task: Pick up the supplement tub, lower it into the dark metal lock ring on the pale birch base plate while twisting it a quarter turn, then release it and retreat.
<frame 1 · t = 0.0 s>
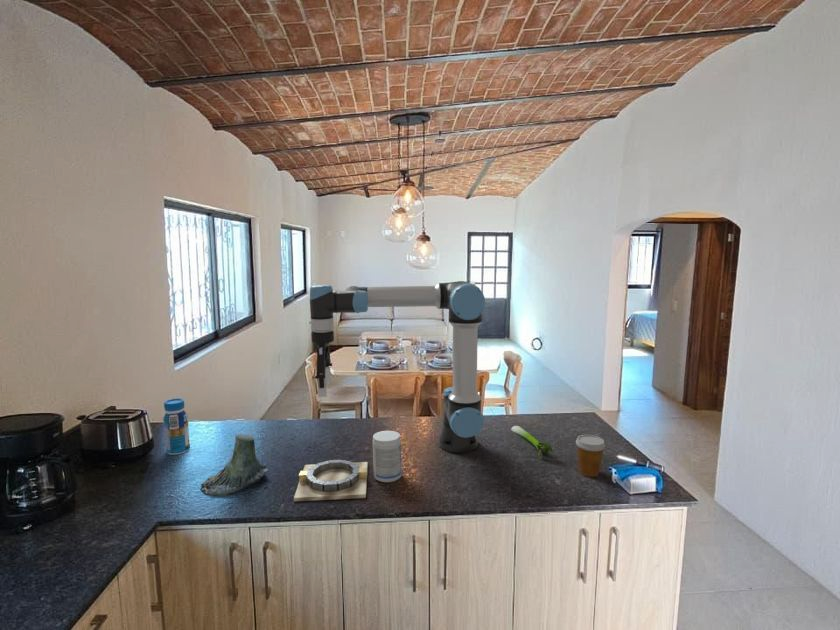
hand: (324, 390, 165), 28 cm above the worktop, fingers open, 13 cm apart
lock ring: (333, 475, 157), on the base plate, point 2 cm above the worktop
disposable coffee cup: (588, 473, 163), on the worktop
supplement tub: (387, 477, 161), on the worktop
base plate: (333, 481, 158), on the worktop
tree stump: (235, 481, 159), on the worktop
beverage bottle: (178, 451, 182), on the worktop
leek: (530, 445, 186), on the worktop
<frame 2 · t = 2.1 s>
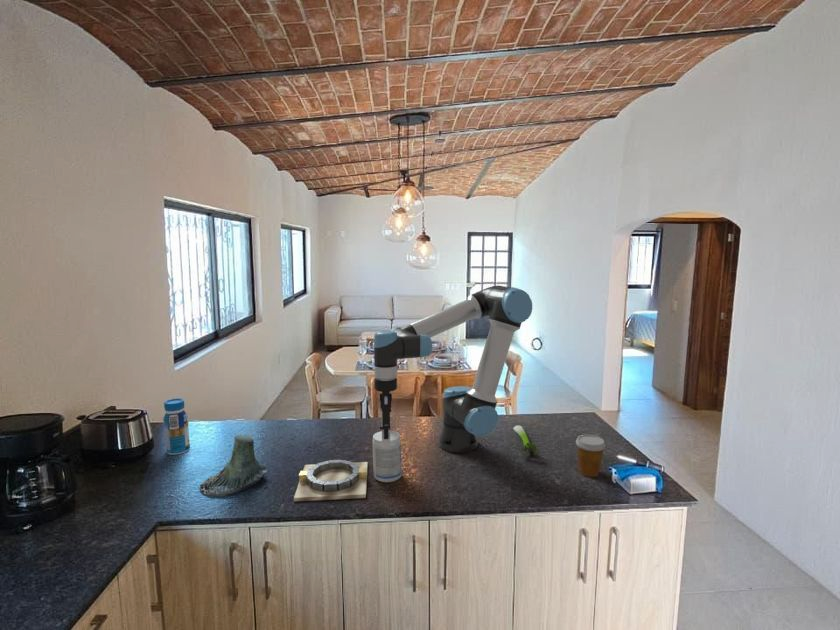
hand: (385, 439, 159), 13 cm above the worktop, fingers open, 13 cm apart
leek: (523, 445, 186), on the worktop
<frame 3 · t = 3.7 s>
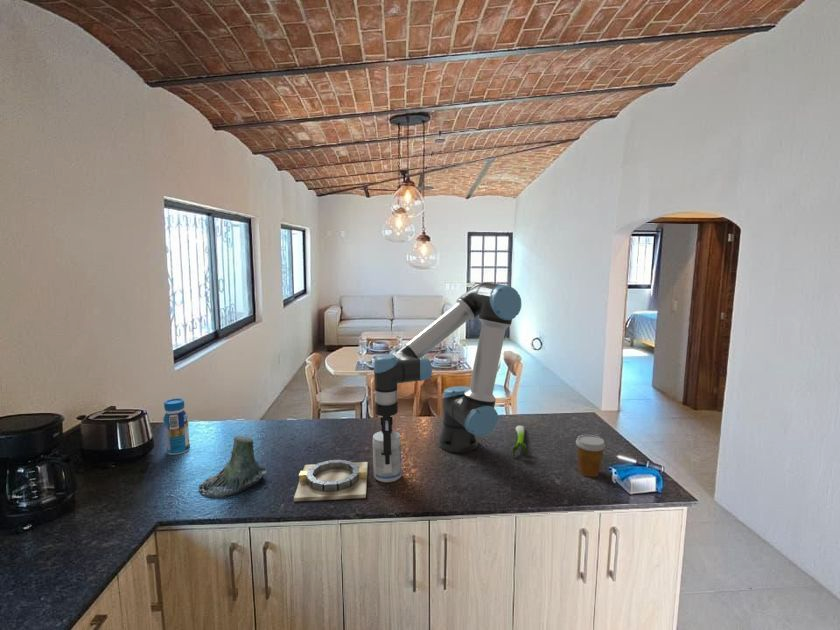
hand: (387, 465, 160), 4 cm above the worktop, fingers closed on supplement tub, 10 cm apart
supplement tub: (387, 477, 161), on the worktop, touching gripper
leek: (518, 445, 186), on the worktop
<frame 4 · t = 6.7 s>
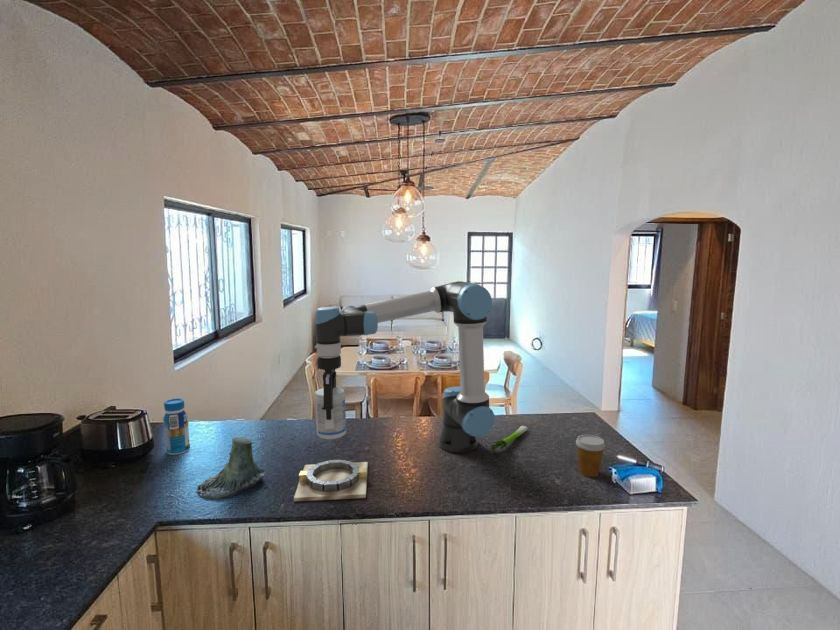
hand: (331, 422, 154), 21 cm above the worktop, fingers closed on supplement tub, 10 cm apart
supplement tub: (331, 434, 155), point 17 cm above the worktop, touching gripper
leek: (509, 443, 188), on the worktop
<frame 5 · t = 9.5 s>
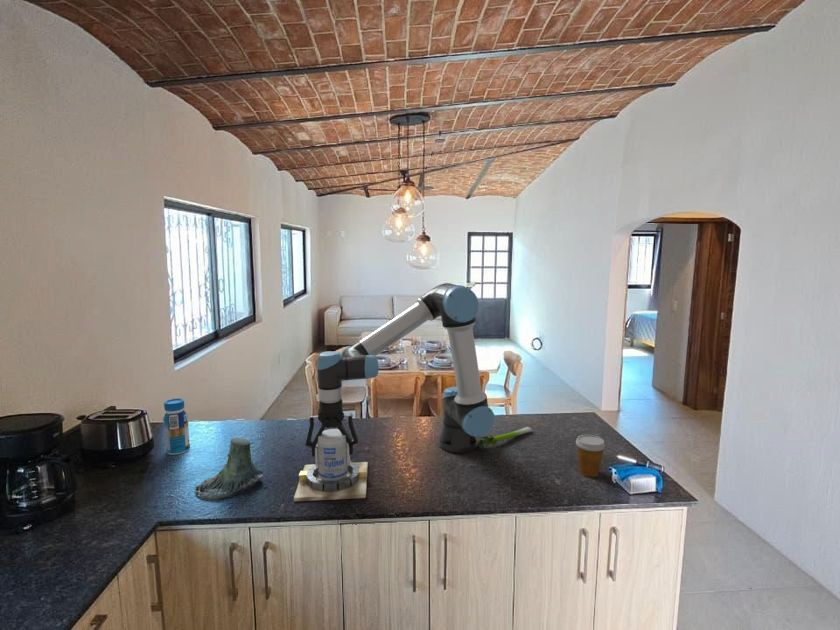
hand: (333, 464, 157), 6 cm above the worktop, fingers closed on supplement tub, 9 cm apart
supplement tub: (333, 476, 157), point 2 cm above the worktop, touching gripper
leek: (504, 442, 189), on the worktop
when the fingers open (6 cm above the worktop, at t = 9.9 s): supplement tub stays where it is, resting on base plate.
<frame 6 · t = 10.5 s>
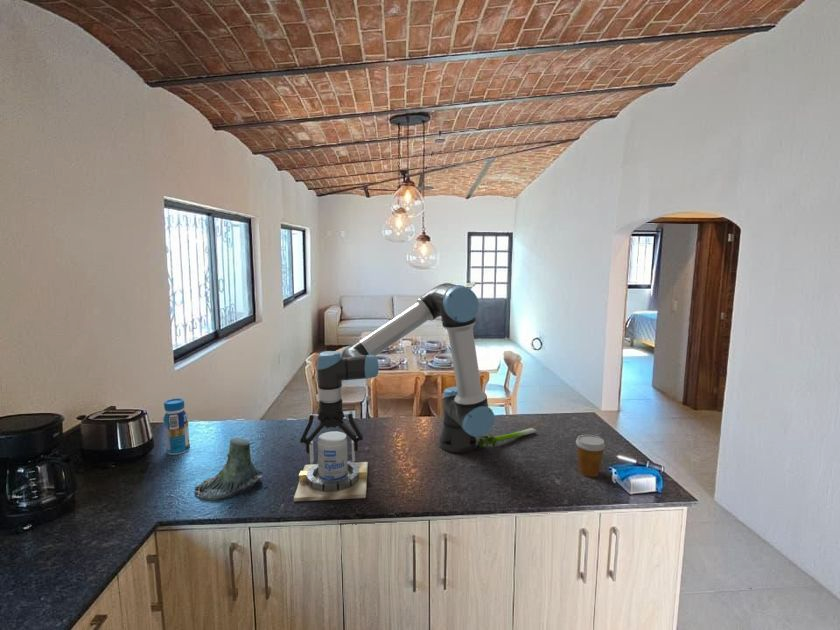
hand: (332, 461, 156), 7 cm above the worktop, fingers open, 13 cm apart
supplement tub: (333, 478, 157), point 1 cm above the worktop, touching base plate
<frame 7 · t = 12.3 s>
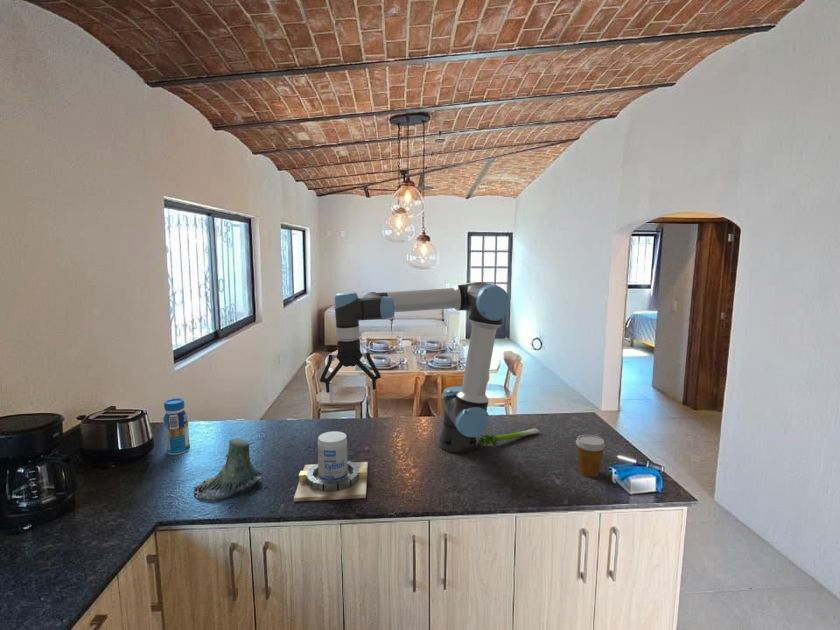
hand: (351, 400, 161), 26 cm above the worktop, fingers open, 13 cm apart
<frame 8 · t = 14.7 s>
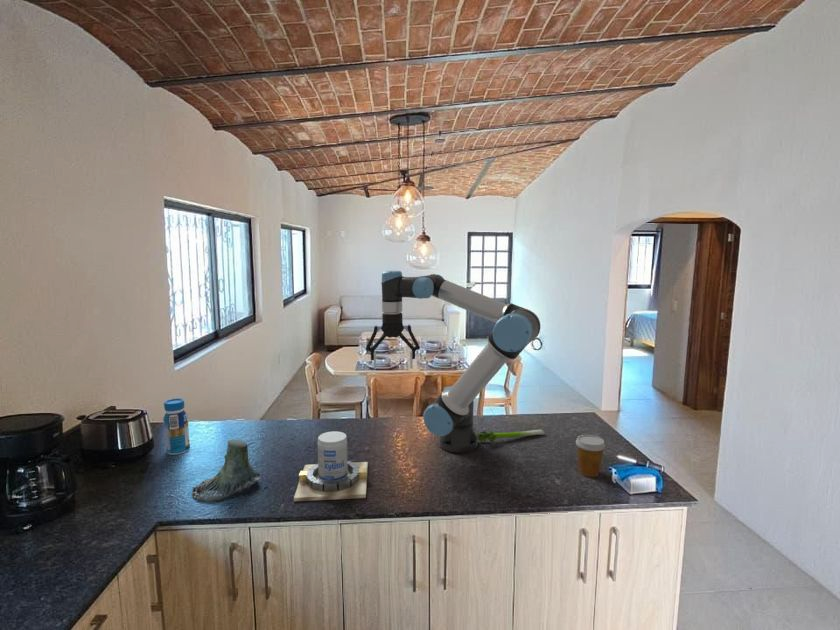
hand: (393, 368, 179), 32 cm above the worktop, fingers open, 13 cm apart
leek: (509, 440, 191), on the worktop
at the end: supplement tub 0.1 cm off-centre on the lock ring, point 1.0 cm above the lock ring's base; supplement tub tilted 0°; the gripper is holding nothing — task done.
